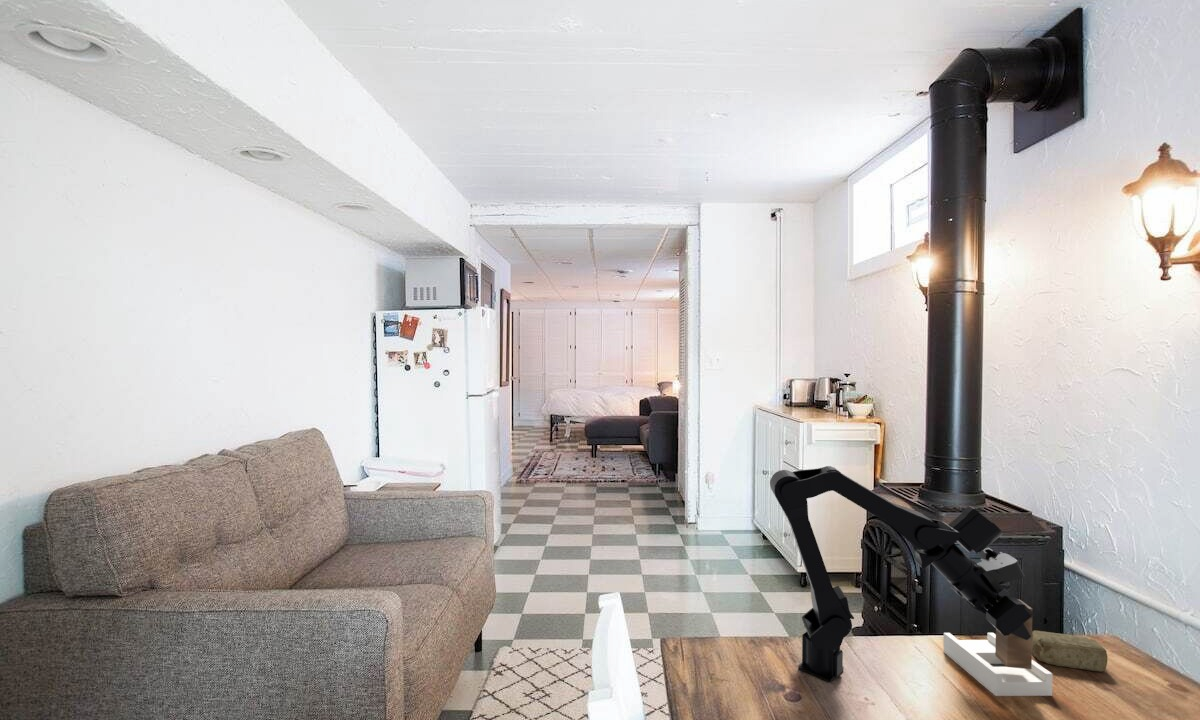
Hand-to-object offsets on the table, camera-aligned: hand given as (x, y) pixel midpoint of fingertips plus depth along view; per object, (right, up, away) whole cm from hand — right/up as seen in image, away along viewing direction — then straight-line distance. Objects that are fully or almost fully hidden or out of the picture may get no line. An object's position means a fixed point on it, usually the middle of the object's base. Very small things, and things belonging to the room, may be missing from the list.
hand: (1021, 632), depth 104 cm
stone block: (+16, -11, +9) cm, 21 cm away
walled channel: (-1, -10, +5) cm, 12 cm away
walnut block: (-1, -6, 0) cm, 6 cm away
